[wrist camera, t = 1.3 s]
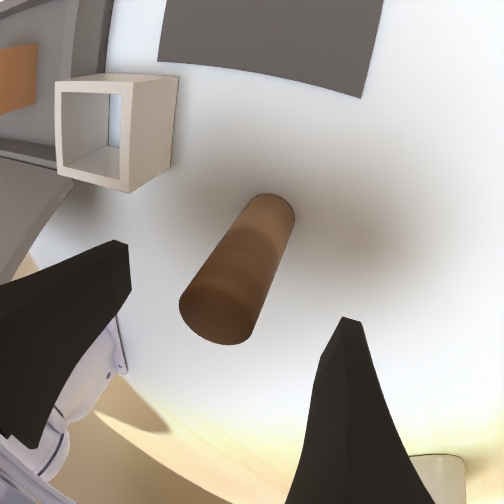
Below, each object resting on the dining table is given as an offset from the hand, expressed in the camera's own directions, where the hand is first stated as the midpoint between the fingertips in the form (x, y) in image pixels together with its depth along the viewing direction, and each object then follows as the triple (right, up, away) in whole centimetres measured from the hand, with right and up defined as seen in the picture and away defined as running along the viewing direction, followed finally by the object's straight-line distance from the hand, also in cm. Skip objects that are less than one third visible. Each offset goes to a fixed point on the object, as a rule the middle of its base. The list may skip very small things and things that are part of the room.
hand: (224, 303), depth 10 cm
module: (-14, +13, +4) cm, 19 cm away
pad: (+2, +13, -1) cm, 13 cm away
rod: (+2, +3, +5) cm, 6 cm away
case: (-12, +10, +5) cm, 16 cm away
